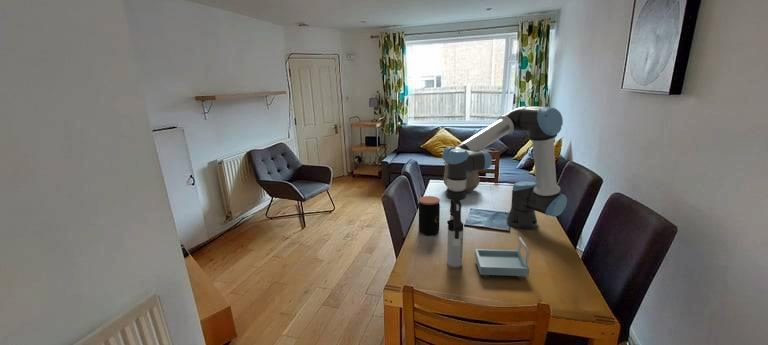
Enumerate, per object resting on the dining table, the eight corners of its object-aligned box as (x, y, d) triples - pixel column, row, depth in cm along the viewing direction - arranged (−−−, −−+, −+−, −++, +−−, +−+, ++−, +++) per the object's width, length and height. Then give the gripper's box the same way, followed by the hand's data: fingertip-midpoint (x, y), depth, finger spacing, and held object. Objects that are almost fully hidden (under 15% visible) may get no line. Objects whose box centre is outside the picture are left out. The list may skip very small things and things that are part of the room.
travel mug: (444, 261, 137) (445, 218, 132) (459, 260, 138) (460, 217, 132) (448, 269, 131) (449, 225, 126) (464, 268, 132) (465, 223, 126)
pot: (443, 196, 217) (444, 166, 212) (443, 185, 240) (443, 158, 234) (481, 197, 213) (482, 166, 208) (477, 186, 236) (478, 158, 230)
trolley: (517, 261, 135) (520, 235, 132) (528, 281, 122) (531, 252, 118) (474, 260, 137) (475, 234, 134) (479, 279, 124) (481, 250, 120)
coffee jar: (438, 237, 159) (439, 203, 155) (417, 235, 161) (417, 202, 157) (439, 228, 169) (440, 196, 165) (419, 226, 171) (419, 195, 167)
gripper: (444, 179, 138) (443, 224, 143) (449, 198, 114) (447, 252, 119) (462, 179, 137) (460, 225, 142) (470, 199, 113) (467, 252, 119)
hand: (454, 237), depth 131 cm, fingers open, 13 cm apart
